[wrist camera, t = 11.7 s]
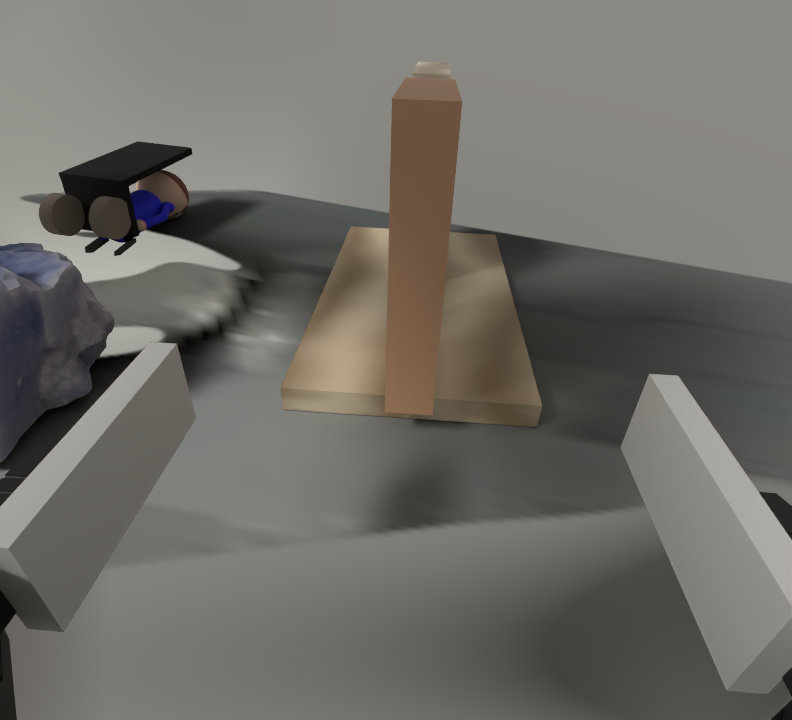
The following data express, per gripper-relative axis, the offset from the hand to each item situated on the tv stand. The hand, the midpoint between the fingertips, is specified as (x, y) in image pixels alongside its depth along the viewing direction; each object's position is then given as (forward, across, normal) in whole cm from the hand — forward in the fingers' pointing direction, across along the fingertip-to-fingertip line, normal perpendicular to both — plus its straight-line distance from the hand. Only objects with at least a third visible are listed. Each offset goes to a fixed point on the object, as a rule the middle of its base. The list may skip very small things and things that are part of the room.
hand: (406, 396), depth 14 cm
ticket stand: (+23, 0, -9) cm, 24 cm away
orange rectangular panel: (+12, 0, -7) cm, 14 cm away
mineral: (+11, -22, -9) cm, 27 cm away
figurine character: (+35, -28, -9) cm, 45 cm away
